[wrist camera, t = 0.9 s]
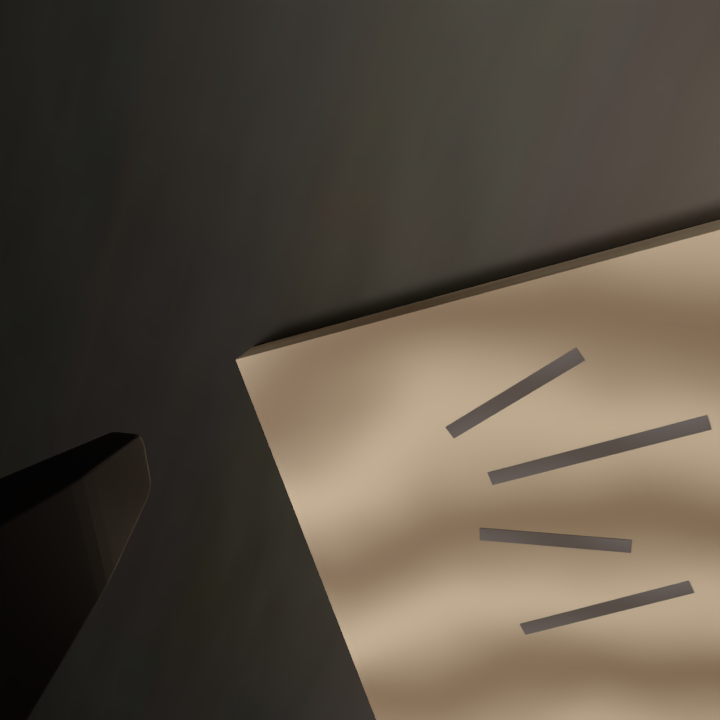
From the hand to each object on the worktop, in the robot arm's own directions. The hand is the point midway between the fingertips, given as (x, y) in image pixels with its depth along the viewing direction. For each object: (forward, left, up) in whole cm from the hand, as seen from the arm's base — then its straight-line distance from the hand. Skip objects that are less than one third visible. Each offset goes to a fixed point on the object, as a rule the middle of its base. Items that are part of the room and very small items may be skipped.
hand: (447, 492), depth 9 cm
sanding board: (-9, -1, -14) cm, 16 cm away
